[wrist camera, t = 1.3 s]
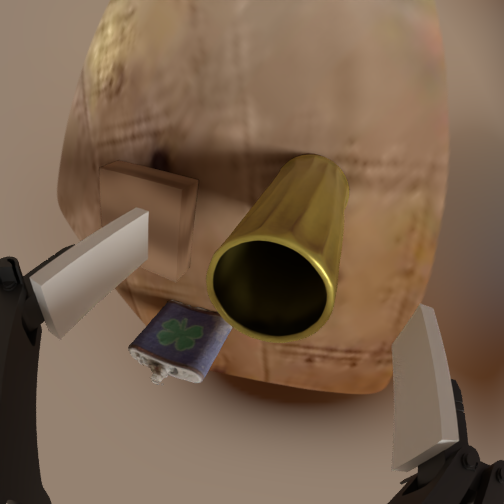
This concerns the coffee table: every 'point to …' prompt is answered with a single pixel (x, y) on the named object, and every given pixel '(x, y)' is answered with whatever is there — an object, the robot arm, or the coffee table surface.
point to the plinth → (153, 211)
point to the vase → (284, 255)
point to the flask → (180, 342)
